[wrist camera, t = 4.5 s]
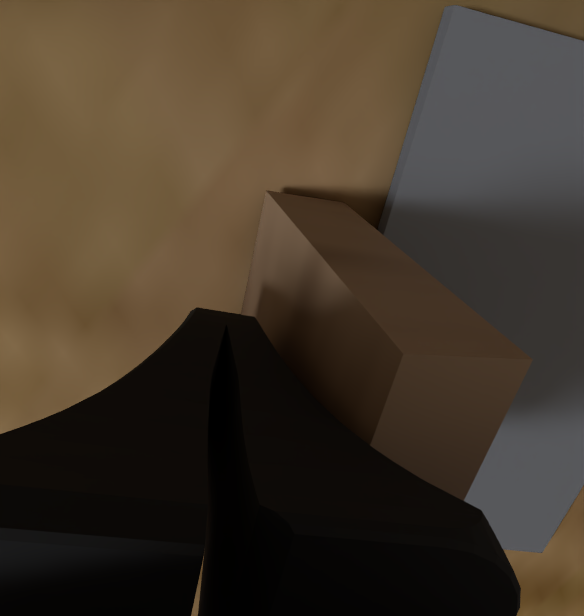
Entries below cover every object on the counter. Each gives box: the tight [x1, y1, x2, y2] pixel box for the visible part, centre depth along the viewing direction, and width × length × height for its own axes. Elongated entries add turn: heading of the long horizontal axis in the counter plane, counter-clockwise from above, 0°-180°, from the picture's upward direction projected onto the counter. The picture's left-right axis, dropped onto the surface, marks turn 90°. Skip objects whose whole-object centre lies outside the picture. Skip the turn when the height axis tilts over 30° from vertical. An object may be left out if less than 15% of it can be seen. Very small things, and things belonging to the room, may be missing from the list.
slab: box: [241, 191, 533, 501], centre depth 11 cm, size 6×2×7 cm, turn 167°
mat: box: [377, 5, 584, 553], centre depth 15 cm, size 15×9×1 cm, turn 167°
